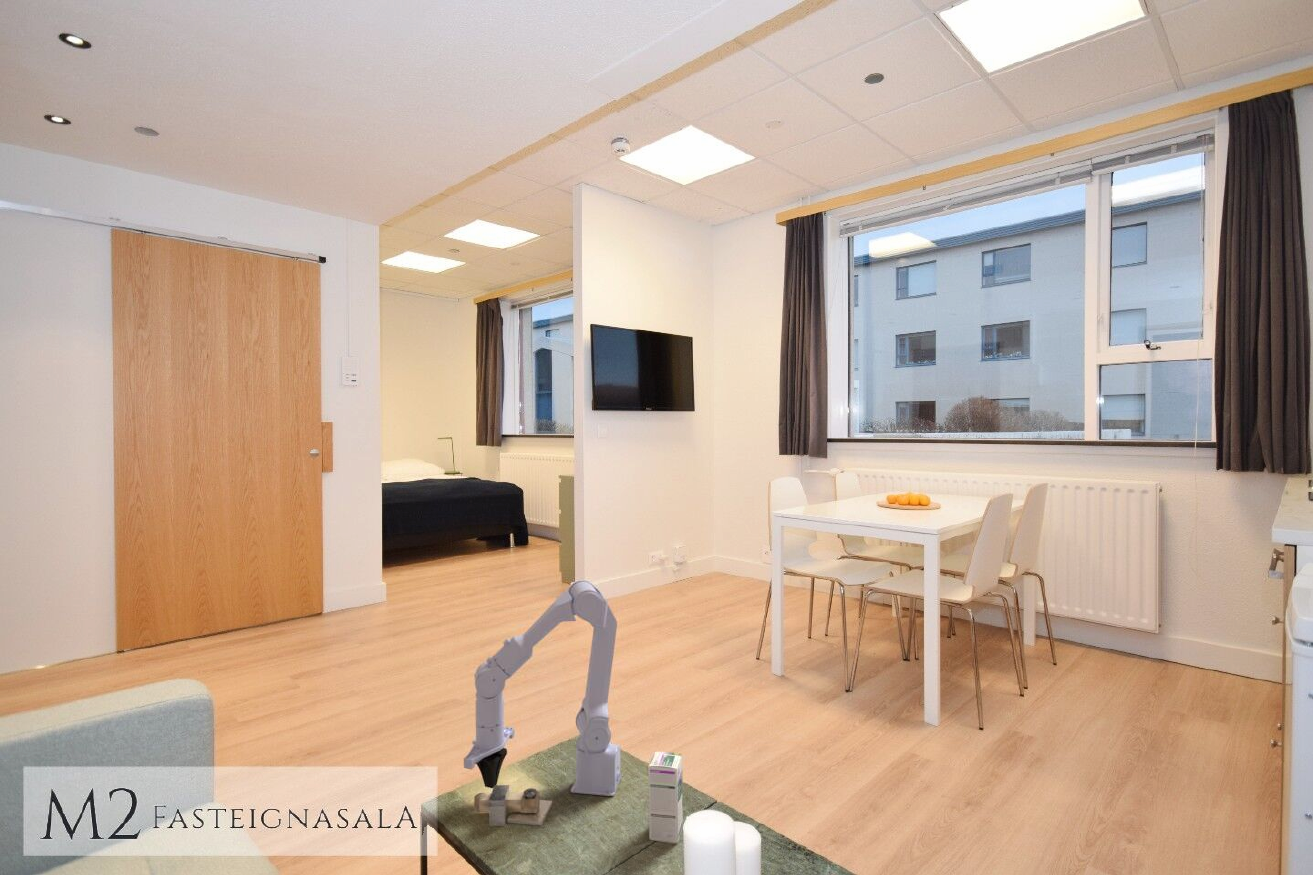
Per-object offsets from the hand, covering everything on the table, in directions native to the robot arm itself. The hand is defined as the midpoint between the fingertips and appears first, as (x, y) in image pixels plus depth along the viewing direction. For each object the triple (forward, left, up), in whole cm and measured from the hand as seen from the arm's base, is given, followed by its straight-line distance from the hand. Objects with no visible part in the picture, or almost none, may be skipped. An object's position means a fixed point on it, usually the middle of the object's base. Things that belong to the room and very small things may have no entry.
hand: (490, 785), depth 136 cm
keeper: (-4, +5, -3) cm, 7 cm away
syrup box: (-38, +5, -3) cm, 38 cm away
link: (-5, +4, -2) cm, 7 cm away
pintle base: (-10, +3, -3) cm, 11 cm away
